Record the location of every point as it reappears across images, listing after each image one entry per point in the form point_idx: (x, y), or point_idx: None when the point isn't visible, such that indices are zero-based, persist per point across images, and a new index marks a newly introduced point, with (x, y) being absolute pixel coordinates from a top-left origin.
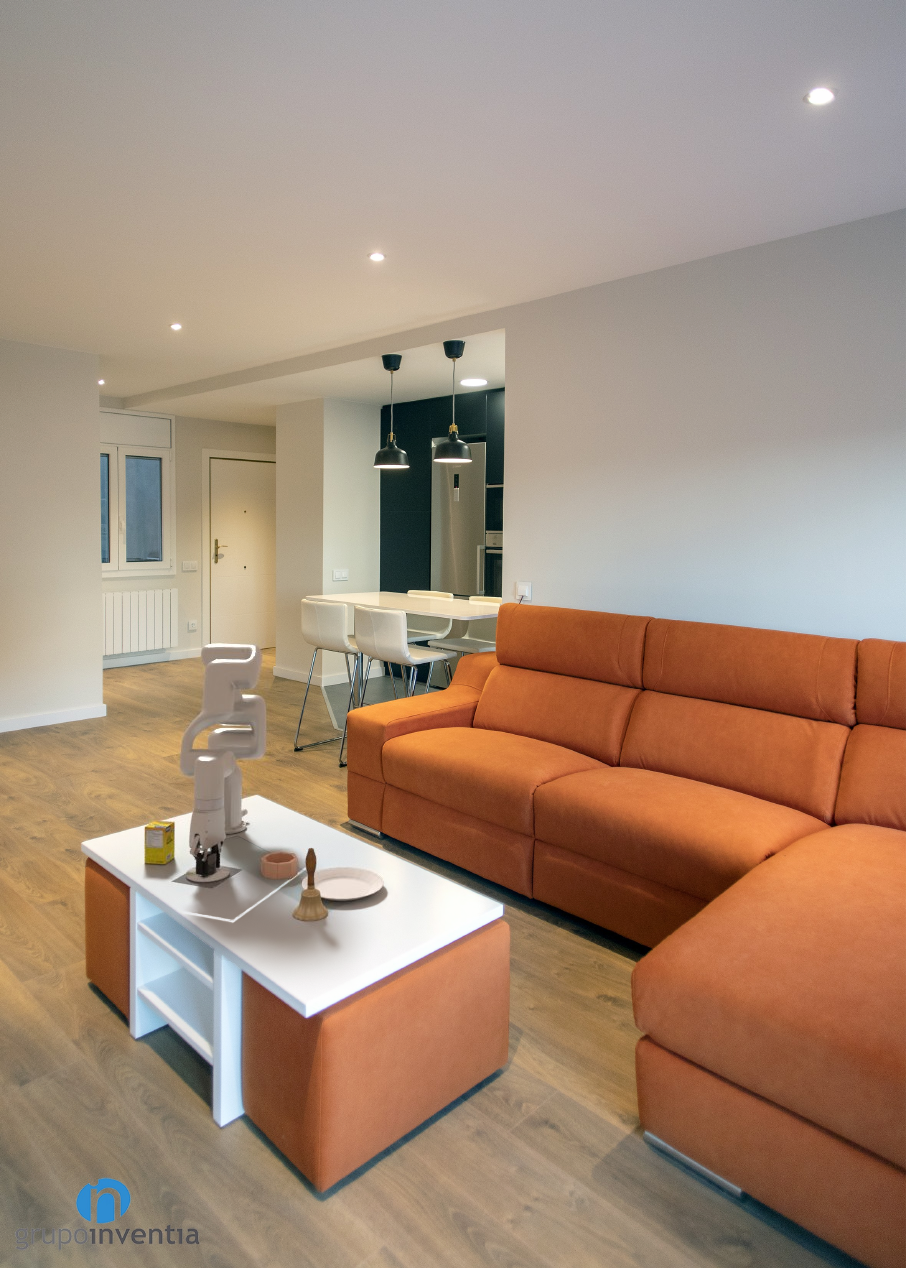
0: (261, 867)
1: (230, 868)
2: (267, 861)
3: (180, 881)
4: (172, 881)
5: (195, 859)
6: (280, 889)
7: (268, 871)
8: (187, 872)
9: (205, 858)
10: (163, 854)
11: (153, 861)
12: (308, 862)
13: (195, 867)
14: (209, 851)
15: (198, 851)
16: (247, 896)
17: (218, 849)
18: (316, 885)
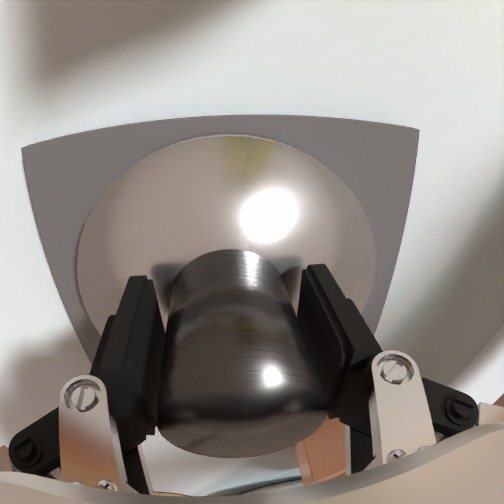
0: (343, 434)
1: (367, 321)
2: (326, 480)
3: (47, 200)
4: (22, 154)
5: (69, 390)
6: (243, 467)
7: (304, 460)
8: (147, 167)
9: (135, 444)
10: None
11: None
12: None
13: (279, 154)
14: (314, 404)
15: (95, 468)
16: (153, 448)
17: (347, 443)
18: (291, 482)
